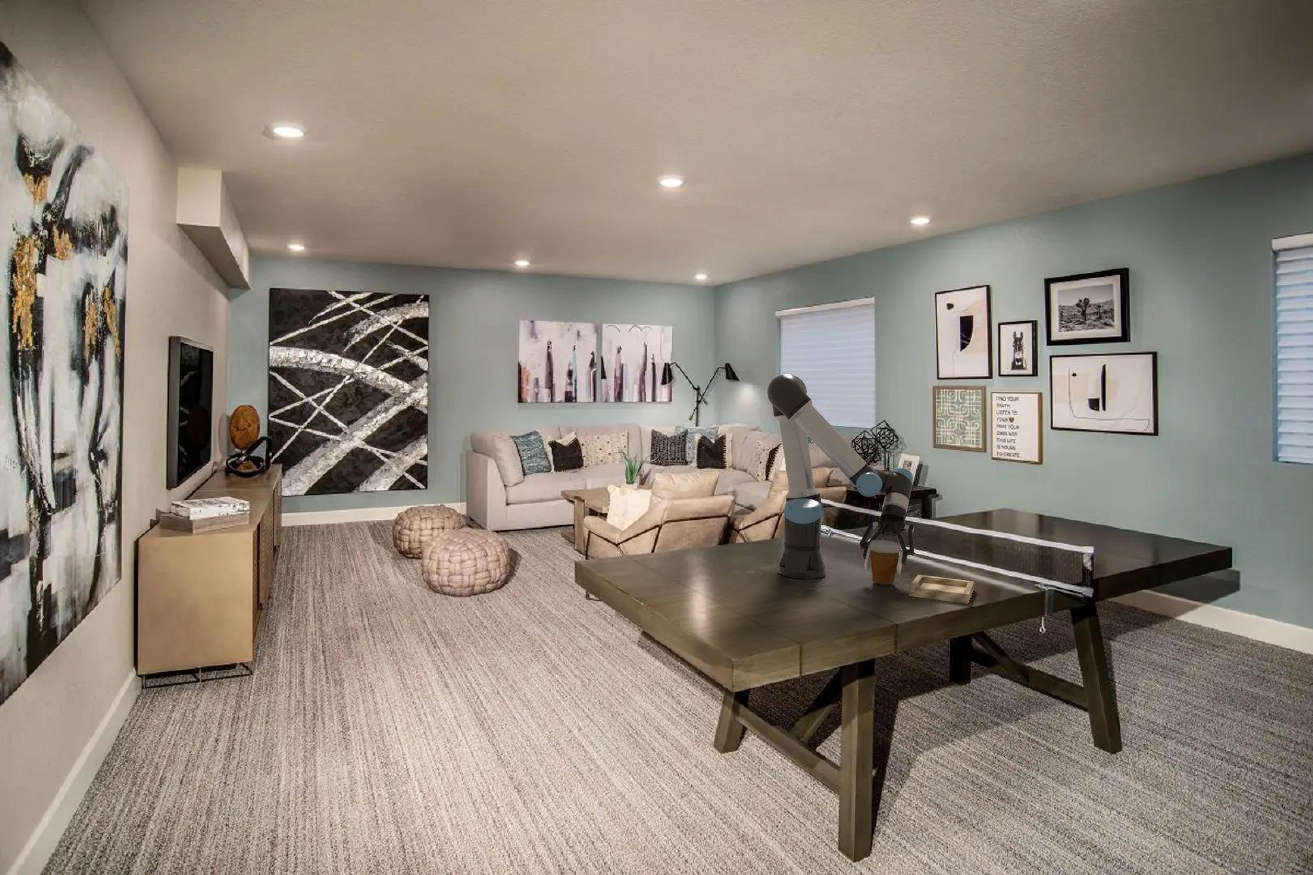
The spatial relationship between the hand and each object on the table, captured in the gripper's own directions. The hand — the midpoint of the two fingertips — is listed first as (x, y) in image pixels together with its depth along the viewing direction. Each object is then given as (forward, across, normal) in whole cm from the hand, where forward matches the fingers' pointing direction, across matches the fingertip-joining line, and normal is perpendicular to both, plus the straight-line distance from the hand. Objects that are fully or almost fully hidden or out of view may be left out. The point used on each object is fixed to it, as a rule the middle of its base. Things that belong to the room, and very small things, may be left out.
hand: (882, 569), depth 224 cm
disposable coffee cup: (+1, 0, -5) cm, 5 cm away
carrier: (+3, -17, -4) cm, 18 cm away
